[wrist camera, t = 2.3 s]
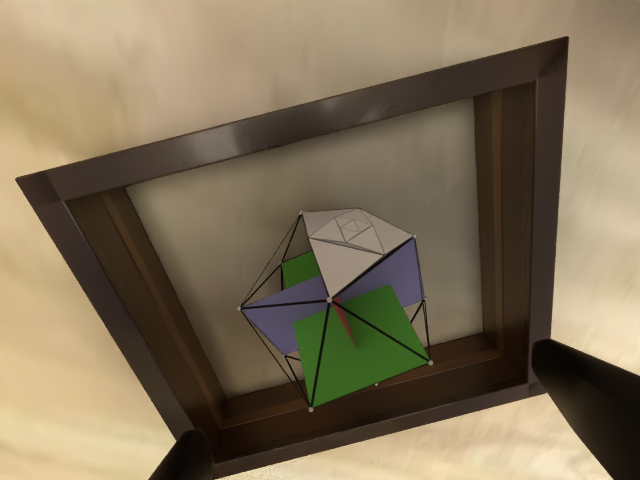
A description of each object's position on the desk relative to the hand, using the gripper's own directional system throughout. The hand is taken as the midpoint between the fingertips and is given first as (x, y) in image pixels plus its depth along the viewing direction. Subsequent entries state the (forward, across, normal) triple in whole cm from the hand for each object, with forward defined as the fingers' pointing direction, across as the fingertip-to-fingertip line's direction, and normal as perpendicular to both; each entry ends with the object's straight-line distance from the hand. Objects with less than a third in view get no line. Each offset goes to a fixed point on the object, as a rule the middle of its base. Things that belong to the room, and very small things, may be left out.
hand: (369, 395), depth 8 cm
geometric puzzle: (+8, 0, 0) cm, 8 cm away
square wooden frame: (+8, 0, 0) cm, 8 cm away
